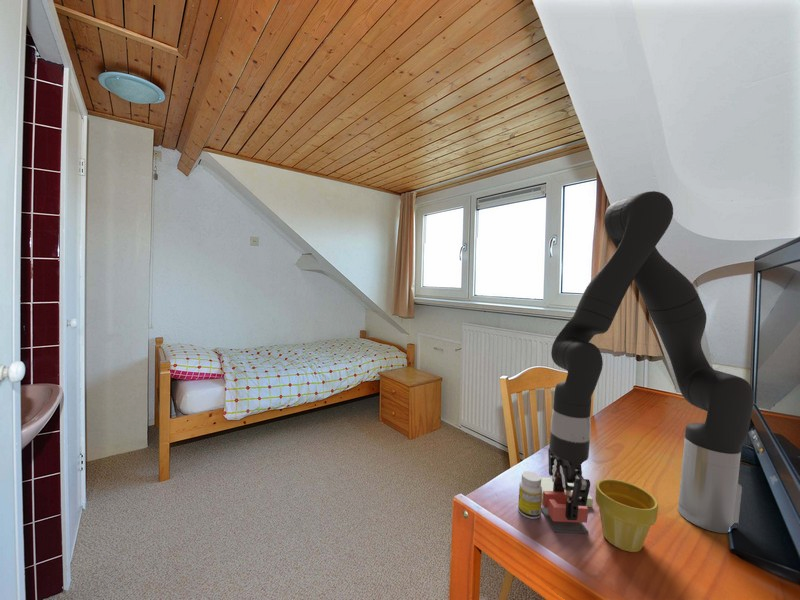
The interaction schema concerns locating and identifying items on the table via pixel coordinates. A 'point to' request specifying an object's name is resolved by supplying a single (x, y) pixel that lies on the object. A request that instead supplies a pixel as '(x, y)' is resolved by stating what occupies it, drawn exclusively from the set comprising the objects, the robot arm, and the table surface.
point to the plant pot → (625, 513)
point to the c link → (561, 507)
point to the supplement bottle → (530, 495)
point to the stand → (548, 486)
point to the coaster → (564, 524)
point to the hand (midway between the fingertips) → (564, 508)
